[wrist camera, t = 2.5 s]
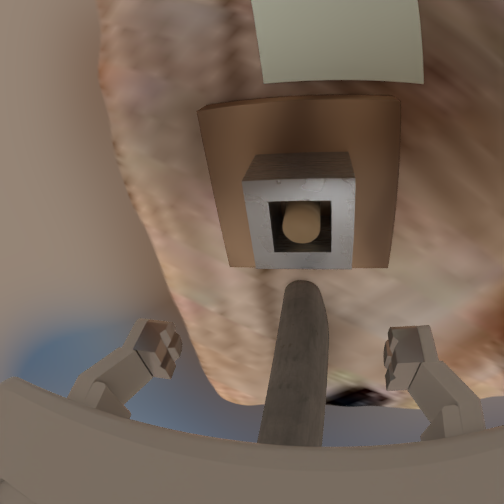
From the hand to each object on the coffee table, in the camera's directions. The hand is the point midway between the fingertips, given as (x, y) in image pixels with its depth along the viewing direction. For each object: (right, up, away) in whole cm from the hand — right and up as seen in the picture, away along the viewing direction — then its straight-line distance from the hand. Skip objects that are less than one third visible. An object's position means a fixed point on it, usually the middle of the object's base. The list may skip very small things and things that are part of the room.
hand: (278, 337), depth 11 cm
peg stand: (+3, +8, +10) cm, 13 cm away
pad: (+4, +18, +2) cm, 18 cm away
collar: (+2, +7, +8) cm, 11 cm away
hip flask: (+5, -6, +20) cm, 21 cm away
